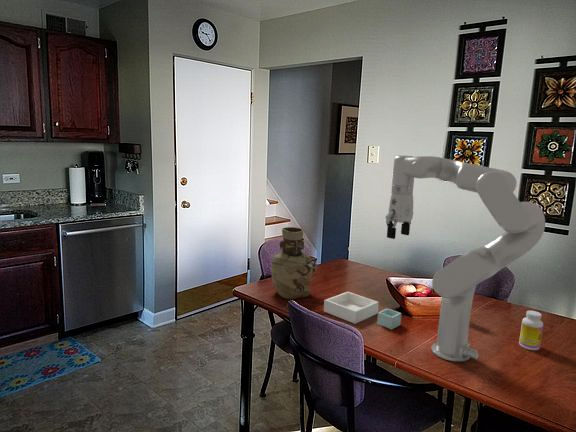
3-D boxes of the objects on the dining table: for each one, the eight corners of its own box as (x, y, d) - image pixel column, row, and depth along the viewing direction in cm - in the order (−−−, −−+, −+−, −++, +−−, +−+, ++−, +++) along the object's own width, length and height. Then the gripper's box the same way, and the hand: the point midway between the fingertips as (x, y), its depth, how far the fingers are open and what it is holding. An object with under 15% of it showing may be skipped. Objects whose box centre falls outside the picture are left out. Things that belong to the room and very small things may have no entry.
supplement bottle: (539, 352, 152) (544, 318, 150) (518, 347, 155) (522, 313, 153) (540, 345, 158) (545, 312, 155) (519, 340, 161) (524, 307, 159)
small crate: (400, 325, 171) (401, 313, 170) (391, 329, 166) (392, 317, 165) (386, 319, 175) (387, 308, 174) (377, 324, 171) (378, 312, 170)
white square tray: (377, 313, 181) (378, 302, 180) (354, 323, 170) (355, 311, 169) (347, 302, 192) (347, 291, 191) (323, 311, 181) (324, 300, 180)
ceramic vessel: (314, 302, 190) (318, 236, 185) (267, 298, 192) (269, 232, 187) (316, 288, 209) (319, 227, 204) (273, 284, 211) (275, 224, 206)
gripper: (398, 192, 148) (394, 241, 151) (423, 190, 160) (419, 235, 163) (380, 190, 153) (376, 237, 156) (405, 187, 165) (401, 231, 168)
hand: (398, 236), depth 159 cm, fingers open, 9 cm apart
